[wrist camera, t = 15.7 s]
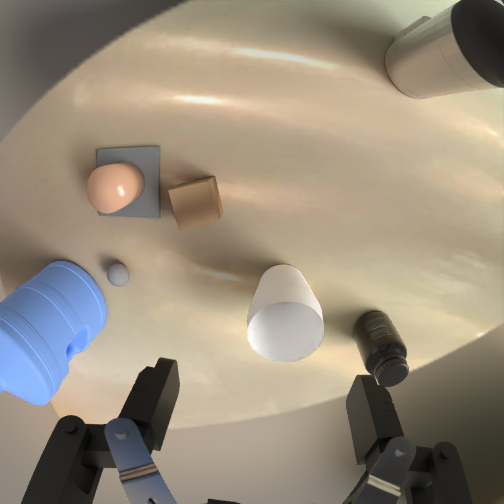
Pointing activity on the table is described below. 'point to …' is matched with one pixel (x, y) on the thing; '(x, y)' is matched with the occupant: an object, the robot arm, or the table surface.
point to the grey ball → (118, 274)
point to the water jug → (47, 329)
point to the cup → (284, 316)
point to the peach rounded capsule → (115, 186)
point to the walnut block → (196, 202)
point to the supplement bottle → (381, 348)
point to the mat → (150, 167)
